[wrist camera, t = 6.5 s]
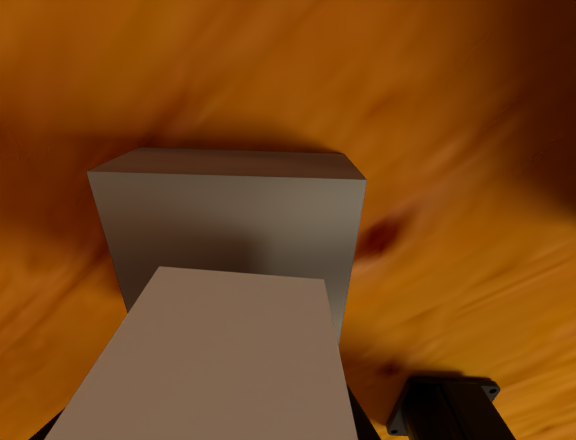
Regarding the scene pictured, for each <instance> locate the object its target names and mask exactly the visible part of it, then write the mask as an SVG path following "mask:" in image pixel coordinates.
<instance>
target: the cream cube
mask: <svg viewBox="0 0 576 440" xmlns="http://www.w3.org/2000/svg"><path fill="white" fill-rule="evenodd" d="M44 440H358V438H357V433H356V428H355V423H354V419H353V414H352V409H351V405H350V400H349V395H348V390H347V386H346V381H345V376H344V372H343V367H342V362H341V357H340V353H339V348H338V343H337V339H336V334H335V329H334V324H333V320H332V315H331V310H330V305H329V301H328V296H327V291H326V287H325V282H324V279H312V278H300V277H287V276H274V275H262V274H249V273H237V272H224V271H211V270H199V269H186V268H174V267H161V266H159V267H158V269H157V270H156V272H155V273H154V275H153V276H152V278H151V280H150V281H149V283H148V284H147V286H146V287H145V289H144V290H143V292H142V293H141V295H140V296H139V298H138V299H137V301H136V302H135V304H134V305H133V307H132V308H131V310H130V311H129V313H128V314H127V316H126V317H125V319H124V320H123V322H122V323H121V325H120V326H119V328H118V329H117V331H116V332H115V334H114V335H113V337H112V338H111V340H110V341H109V343H108V344H107V346H106V347H105V349H104V350H103V352H102V353H101V355H100V356H99V358H98V359H97V361H96V362H95V364H94V365H93V367H92V368H91V370H90V371H89V373H88V374H87V376H86V377H85V379H84V381H83V382H82V384H81V385H80V387H79V388H78V390H77V391H76V393H75V394H74V396H73V397H72V399H71V400H70V402H69V403H68V405H67V406H66V408H65V409H64V411H63V412H62V414H61V415H60V417H59V418H58V420H57V421H56V423H55V424H54V426H53V427H52V429H51V430H50V432H49V433H48V435H47V436H46V438H45V439H44Z"/></svg>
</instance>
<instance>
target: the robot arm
mask: <svg viewBox="0 0 576 440" xmlns="http://www.w3.org/2000/svg"><path fill="white" fill-rule="evenodd" d="M346 386H347V390H348V395H349V400H350V405H351V409H352V414H353V419H354V423H355V428H356V433H357V438H358V440H381V438H380V437H379V435H378V433H377V432H376V430H375V429H374V427H373V425H372V424H371V422H370V420H369V419H368V417H367V416H366V414H365V412H364V411H363V409H362V408H361V406H360V404H359V403H358V401H357V399H356V398H355V396H354V395H353V393H352V391H351V390H350V388H349V386H348V385H347V383H346ZM499 392H500V387H499V386H498V385H497V383H496V382H494V381H482V380H464V379H446V378H428V377H413V378H410V379H409V380H408V381H407V383H406V385H405V388H404V390H403V392H402V394H401V396H400V398H399V400H398V402H397V404H396V407H395V409H394V411H393V413H392V415H391V417H390V419H389V421H388V423H387V425H386V428H387V432H388V434H389V435H396V436H408V438H409V440H516V439H515V437H514V436H513V434H512V433H511V431H510V429H509V428H508V426H507V425H506V423H505V422H504V420H503V419H502V417H501V416H500V414H499V413H498V411H497V410H496V408H495V407H494V405H493V403H492V401H493V400H494V399H495V397H496V396H497V395H498V393H499ZM65 408H66V407H65ZM65 408H64V409H65ZM64 409H63V410H62V411H61V412H60V413H59V414H57V415H56V416H55V417H54V418H53V419H52V420H51V421H49V422H48V423H47V424H46V425H45V426H44V427H43V428H41V429H40V430H39V431H38V432H37V433H36V434H35V435H33V436H32V437H31V438H30V439H29V440H44V439H45V438H46V436H47V435H48V433H49V432H50V430H51V429H52V427H53V426H54V424H55V423H56V421H57V420H58V418H59V417H60V415H61V414H62V412H63V411H64Z"/></svg>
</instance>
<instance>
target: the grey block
mask: <svg viewBox="0 0 576 440" xmlns="http://www.w3.org/2000/svg"><path fill="white" fill-rule="evenodd" d="M86 172H87V176H88V179H89V183H90V186H91V190H92V193H93V196H94V200H95V203H96V207H97V210H98V214H99V217H100V220H101V224H102V227H103V231H104V234H105V238H106V241H107V244H108V248H109V251H110V255H111V258H112V262H113V265H114V268H115V272H116V275H117V279H118V282H119V286H120V289H121V292H122V296H123V299H124V303H125V306H126V310H127V313H129V311H130V310H131V308H132V307H133V305H134V304H135V302H136V301H137V299H138V298H139V296H140V295H141V293H142V292H143V290H144V289H145V287H146V286H147V284H148V283H149V281H150V280H151V278H152V276H153V275H154V273H155V272H156V270H157V269H158V267H159V266H161V267H174V268H186V269H199V270H211V271H224V272H237V273H249V274H262V275H274V276H287V277H300V278H312V279H324V282H325V287H326V291H327V296H328V301H329V305H330V310H331V315H332V320H333V324H334V329H335V334H336V339H337V343H338V346H339V340H340V335H341V329H342V323H343V317H344V311H345V305H346V299H347V294H348V288H349V282H350V276H351V270H352V264H353V259H354V253H355V247H356V241H357V235H358V229H359V223H360V218H361V212H362V206H363V200H364V194H365V188H366V183H367V179H366V178H365V177H364V176H363V175H362V174H361V172H360V171H359V170H358V169H357V168H356V167H355V166H354V164H353V163H352V162H351V161H350V160H349V159H348V158H347V156H346V155H345V154H334V153H304V152H274V151H245V150H215V149H185V148H156V147H138V148H136V149H134V150H131V151H129V152H127V153H125V154H123V155H121V156H119V157H116V158H114V159H112V160H110V161H108V162H106V163H103V164H101V165H99V166H97V167H95V168H93V169H90V170H88V171H86Z"/></svg>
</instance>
